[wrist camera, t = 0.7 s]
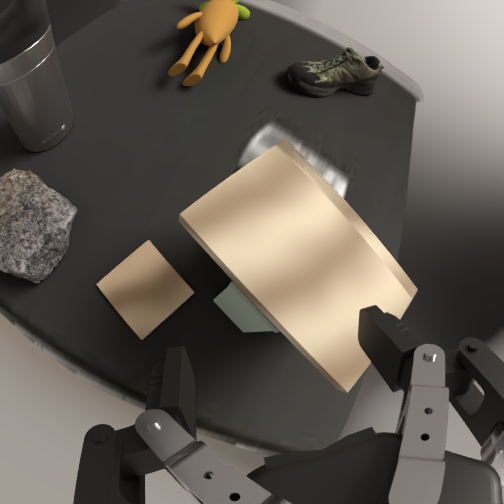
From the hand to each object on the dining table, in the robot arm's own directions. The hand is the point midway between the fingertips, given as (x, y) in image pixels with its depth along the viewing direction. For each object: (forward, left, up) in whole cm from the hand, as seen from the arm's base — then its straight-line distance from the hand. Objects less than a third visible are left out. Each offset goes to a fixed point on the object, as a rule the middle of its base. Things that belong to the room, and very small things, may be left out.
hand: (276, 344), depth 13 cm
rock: (-25, -10, -21) cm, 35 cm away
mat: (-9, -2, -21) cm, 23 cm away
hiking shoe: (-18, +46, -21) cm, 54 cm away
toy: (-41, +33, -21) cm, 56 cm away
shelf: (-1, +7, -21) cm, 22 cm away
